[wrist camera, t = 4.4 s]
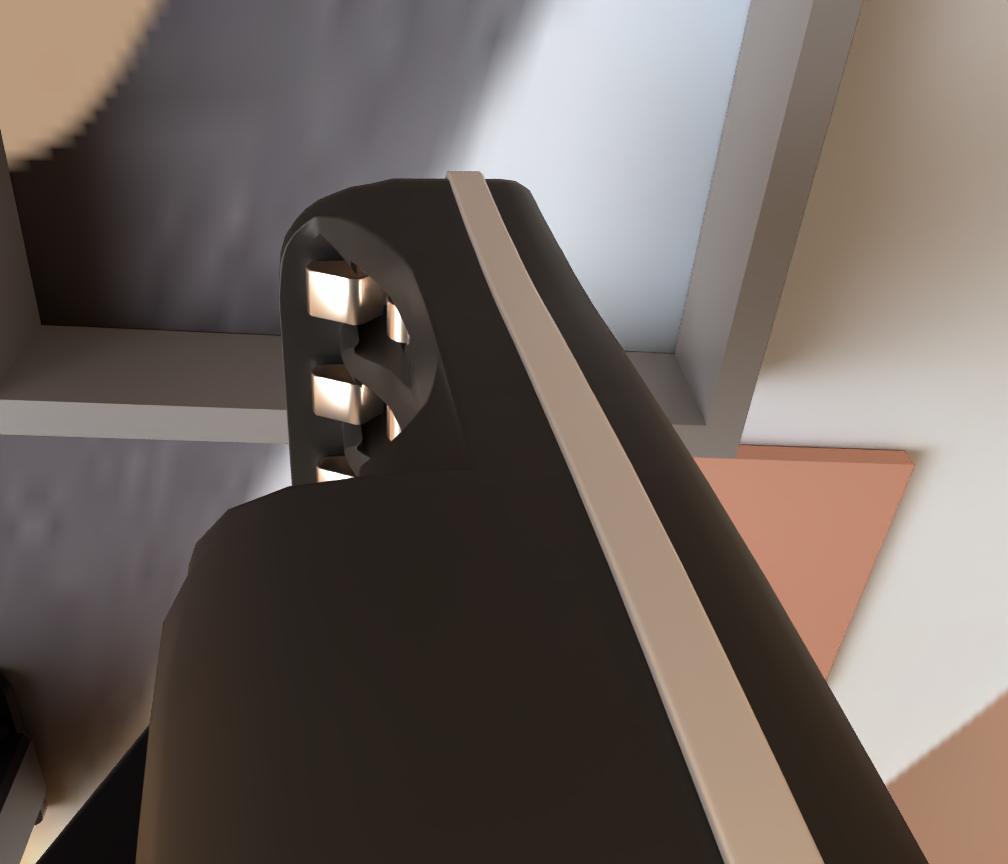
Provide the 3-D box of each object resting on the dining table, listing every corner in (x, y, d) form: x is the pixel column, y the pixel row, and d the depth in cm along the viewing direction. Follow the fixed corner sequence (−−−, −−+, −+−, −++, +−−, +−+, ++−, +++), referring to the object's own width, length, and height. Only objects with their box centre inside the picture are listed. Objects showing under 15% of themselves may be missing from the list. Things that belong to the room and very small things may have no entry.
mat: (518, 688, 28) (520, 704, 27) (554, 438, 23) (557, 453, 22) (808, 689, 29) (815, 705, 28) (904, 450, 24) (914, 464, 23)
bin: (10, 355, 20) (-48, 432, 18) (-149, -318, 14) (-273, -342, 12) (700, 384, 22) (735, 458, 20) (842, -206, 16) (921, -207, 13)
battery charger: (210, 145, 11) (-250, 2263, 2) (530, 149, 12) (1476, 1625, 2) (256, 586, 15) (200, 1930, 6) (494, 568, 15) (792, 1730, 6)
